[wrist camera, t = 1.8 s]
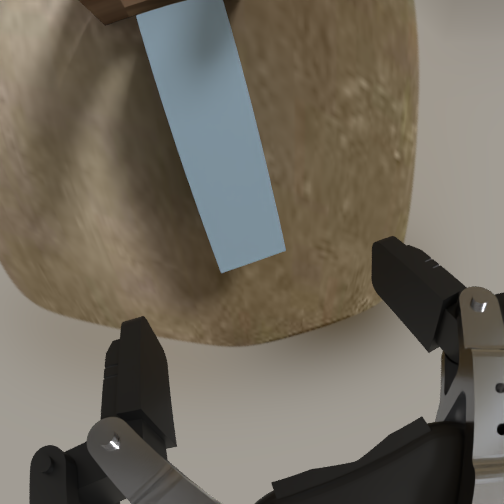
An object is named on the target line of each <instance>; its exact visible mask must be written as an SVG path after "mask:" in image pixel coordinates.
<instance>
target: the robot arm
mask: <svg viewBox="0 0 504 504" xmlns="http://www.w3.org/2000/svg"><path fill="white" fill-rule="evenodd" d="M372 284H373V287H374V289H375V291H376V293H377V294H378V295H379V296H380V297H381V298H382V299H383V301H384V302H385V303H386V304H387V305H388V306H389V307H390V308H391V309H392V311H393V312H394V313H395V314H396V315H397V316H398V317H399V318H400V320H401V321H402V322H403V323H404V324H405V325H406V326H407V328H408V329H409V330H410V331H411V332H412V334H414V336H415V337H416V338H417V339H418V341H419V342H420V343H421V344H422V345H423V346H424V347H425V349H426V350H427V351H428V352H431V351H433V350H435V349H436V348H438V347H441V349H442V350H443V352H442V356H441V392H440V404H439V408H438V411H437V415H436V419H435V422H433V423H428V424H427V423H426V422H425V420H424V419H423V417H420V418H418V419H417V420H415V421H413V422H412V423H410V424H408V425H406V426H404V427H403V428H401V429H399V430H397V431H395V432H394V433H392V434H390V435H388V436H387V437H386V438H385V439H384V440H383V441H382V442H380V443H379V444H378V445H377V446H375V447H374V448H373V449H372V450H371V451H370V452H368V453H367V454H366V455H364V456H363V457H362V458H360V459H359V460H357V461H355V462H351V463H346V464H341V465H336V466H330V467H323V468H317V469H311V470H308V471H305V472H302V473H300V474H297V475H294V476H291V477H288V478H285V479H282V480H278V481H275V482H272V486H273V489H274V490H273V491H272V492H270V493H268V494H266V495H265V496H264V497H262V498H261V499H259V500H258V501H257V502H256V503H255V504H504V293H500V294H496V295H494V294H493V293H492V292H491V291H489V290H487V289H485V288H482V287H476V286H475V287H474V286H473V287H468V288H467V287H465V286H464V285H463V284H462V283H461V282H460V281H458V280H457V279H456V278H455V277H454V276H453V275H451V274H450V273H449V272H448V271H447V270H445V269H444V268H443V267H442V266H439V264H438V263H437V262H436V261H434V260H432V259H431V257H429V256H428V255H427V254H426V253H424V252H423V251H422V250H420V249H418V248H415V247H412V246H410V245H407V246H406V245H405V244H404V243H402V242H401V241H400V240H399V239H397V238H396V237H394V236H391V237H388V238H385V239H382V240H379V241H377V242H374V243H373V246H372ZM172 447H177V444H176V437H175V430H174V422H173V414H172V405H171V396H170V387H169V376H168V365H167V359H166V356H165V353H164V350H163V348H162V346H161V345H160V343H159V341H158V339H157V337H156V335H155V334H154V332H153V330H152V328H151V327H150V325H149V323H148V321H147V319H146V318H145V317H144V316H142V317H138V318H135V319H132V320H128V321H125V322H122V324H121V333H120V339H118V340H115V341H113V342H112V344H111V345H110V347H109V349H108V351H107V353H106V359H105V370H104V380H103V391H102V406H101V420H100V421H98V422H97V423H96V424H95V425H94V426H93V427H92V428H91V430H90V431H89V433H88V436H87V441H86V442H85V443H83V444H81V445H78V446H77V447H74V448H72V449H70V450H68V451H66V452H63V451H62V450H61V449H59V448H58V447H56V446H52V445H48V446H44V447H42V448H40V449H39V450H38V451H37V452H36V453H35V455H34V456H33V458H32V461H31V466H30V504H120V501H122V500H124V499H126V498H127V499H128V500H129V501H130V503H131V504H222V503H220V502H219V501H218V500H216V499H215V498H214V497H212V496H211V495H209V494H208V493H207V492H205V491H204V490H203V489H201V488H200V487H199V486H198V485H196V484H195V483H194V482H193V481H191V480H190V479H189V478H188V477H186V476H185V475H184V474H183V473H182V472H180V471H179V470H178V469H177V468H176V467H175V466H173V465H172V464H171V463H170V462H169V461H168V460H167V453H166V449H167V448H172Z"/></svg>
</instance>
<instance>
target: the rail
mask: <svg viewBox="0 0 504 504" xmlns="http://www.w3.org/2000/svg"><path fill="white" fill-rule="evenodd" d="M136 18H137V21H138V25H139V28H140V32H141V35H142V38H143V42H144V45H145V49H146V52H147V55H148V59H149V62H150V65H151V68H152V72H153V75H154V78H155V81H156V85H157V88H158V91H159V94H160V97H161V101H162V104H163V107H164V110H165V113H166V116H167V119H168V122H169V125H170V129H171V132H172V135H173V138H174V141H175V144H176V147H177V150H178V153H179V156H180V159H181V162H182V165H183V168H184V170H185V173H186V176H187V179H188V182H189V185H190V188H191V191H192V194H193V197H194V199H195V202H196V205H197V208H198V211H199V214H200V216H201V219H202V222H203V225H204V228H205V230H206V233H207V236H208V239H209V241H210V244H211V247H212V250H213V252H214V255H215V258H216V260H217V263H218V266H219V269H220V271H221V273H224V272H227V271H229V270H232V269H235V268H238V267H241V266H244V265H246V264H249V263H252V262H255V261H258V260H261V259H263V258H266V257H269V256H272V255H275V254H278V253H280V252H283V251H286V249H285V244H284V240H283V235H282V231H281V226H280V222H279V217H278V213H277V208H276V204H275V200H274V195H273V191H272V187H271V182H270V178H269V174H268V170H267V165H266V161H265V157H264V153H263V149H262V145H261V141H260V137H259V133H258V129H257V125H256V121H255V117H254V113H253V109H252V105H251V101H250V97H249V93H248V89H247V86H246V82H245V78H244V74H243V71H242V67H241V63H240V59H239V56H238V52H237V48H236V45H235V41H234V38H233V34H232V30H231V27H230V23H229V20H228V16H227V13H226V9H225V6H224V2H223V0H186V1H182V2H178V3H175V4H171V5H167V6H164V7H161V8H157V9H154V10H151V11H148V12H145V13H142V14H139V15H136Z"/></svg>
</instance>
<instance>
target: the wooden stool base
mask: <svg viewBox="0 0 504 504" xmlns="http://www.w3.org/2000/svg"><path fill="white" fill-rule="evenodd" d="M79 1H80V2H81V3H82V4H83V5H84V6H85V7H86V8H87V9H88V10H89V11H91V12H92V13H93V14H94V15H95V16H96V17H97V18H98V19H99V20H100V21H101V22H102V23H103V24H104V25H108V24H110V23H113V22H116V21H119V20H122V19H125V18H128V17H131V16H134V15H137V14H140V13H143V12H147V11H150V10H154V9H157V8H161V7H164V6H167V5H171V4H175V3H178V2H182V1H186V0H79Z"/></svg>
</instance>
